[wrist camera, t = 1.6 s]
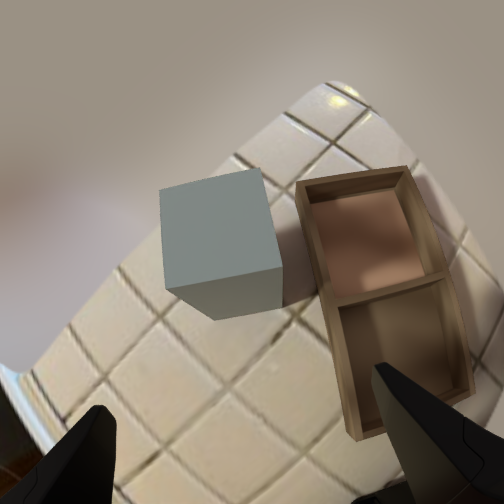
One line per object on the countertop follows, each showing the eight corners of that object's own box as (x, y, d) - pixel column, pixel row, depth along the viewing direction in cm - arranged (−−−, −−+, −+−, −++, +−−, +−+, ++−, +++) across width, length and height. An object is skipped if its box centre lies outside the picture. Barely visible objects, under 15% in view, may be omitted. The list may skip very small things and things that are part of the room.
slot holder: (455, 391, 18) (475, 393, 15) (346, 431, 18) (355, 441, 15) (396, 184, 24) (406, 165, 22) (294, 201, 25) (296, 181, 22)
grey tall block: (282, 307, 22) (282, 266, 12) (214, 320, 22) (165, 288, 13) (268, 244, 24) (259, 167, 14) (205, 257, 24) (159, 190, 14)
